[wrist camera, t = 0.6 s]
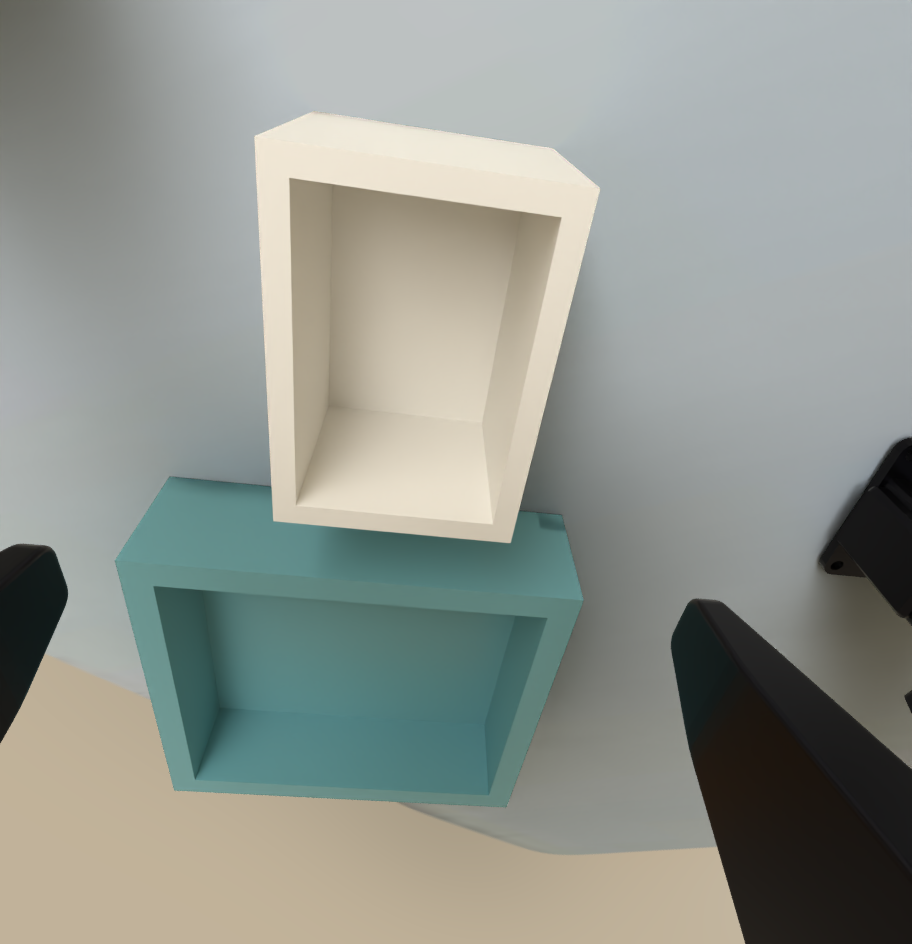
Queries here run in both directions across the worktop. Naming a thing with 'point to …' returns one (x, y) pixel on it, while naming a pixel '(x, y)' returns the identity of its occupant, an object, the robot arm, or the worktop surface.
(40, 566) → the robot arm
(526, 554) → the big crate
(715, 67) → the worktop surface
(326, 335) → the small crate
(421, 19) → the worktop surface
